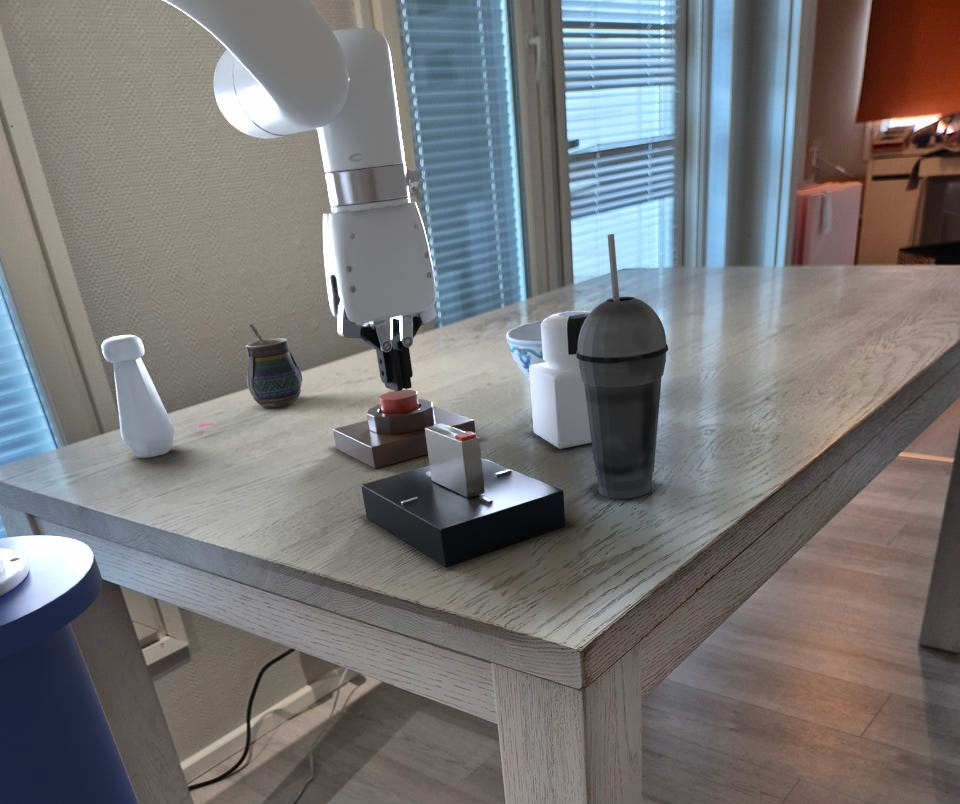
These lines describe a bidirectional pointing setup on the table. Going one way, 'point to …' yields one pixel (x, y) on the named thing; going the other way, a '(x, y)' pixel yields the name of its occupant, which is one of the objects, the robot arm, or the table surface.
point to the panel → (463, 512)
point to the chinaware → (526, 345)
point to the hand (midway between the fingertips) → (398, 387)
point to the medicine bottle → (560, 383)
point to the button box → (395, 434)
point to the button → (399, 402)
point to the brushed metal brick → (455, 459)
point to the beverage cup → (622, 388)
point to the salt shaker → (138, 399)
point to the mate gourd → (272, 372)
